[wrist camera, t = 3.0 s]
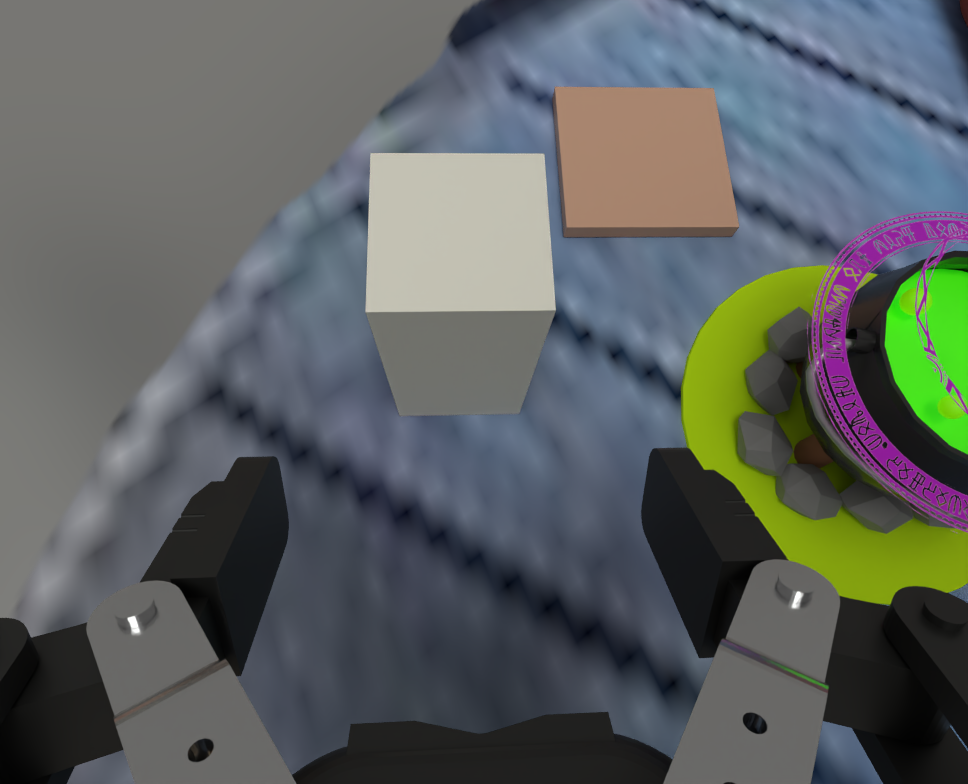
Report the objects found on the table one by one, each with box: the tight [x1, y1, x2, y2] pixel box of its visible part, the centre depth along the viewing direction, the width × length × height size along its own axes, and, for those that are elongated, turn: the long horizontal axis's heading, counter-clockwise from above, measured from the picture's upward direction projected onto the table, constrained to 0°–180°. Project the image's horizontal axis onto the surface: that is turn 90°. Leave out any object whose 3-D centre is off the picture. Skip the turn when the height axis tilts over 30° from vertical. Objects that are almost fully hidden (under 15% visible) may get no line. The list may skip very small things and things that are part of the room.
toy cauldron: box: [681, 211, 968, 605], centre depth 21 cm, size 15×15×11 cm
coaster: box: [553, 87, 739, 237], centre depth 29 cm, size 8×8×1 cm
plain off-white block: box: [366, 153, 556, 416], centre depth 22 cm, size 5×5×10 cm
